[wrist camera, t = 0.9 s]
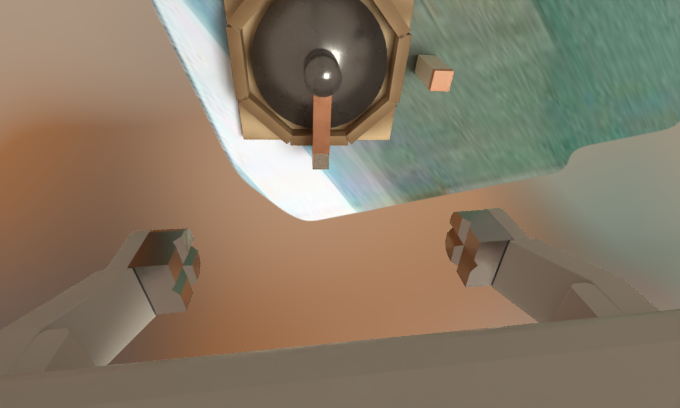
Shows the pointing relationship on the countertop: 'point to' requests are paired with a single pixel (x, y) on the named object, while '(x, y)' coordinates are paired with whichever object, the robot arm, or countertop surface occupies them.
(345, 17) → the dial
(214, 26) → the countertop surface
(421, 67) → the post
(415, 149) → the countertop surface
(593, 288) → the robot arm
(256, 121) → the dial housing
